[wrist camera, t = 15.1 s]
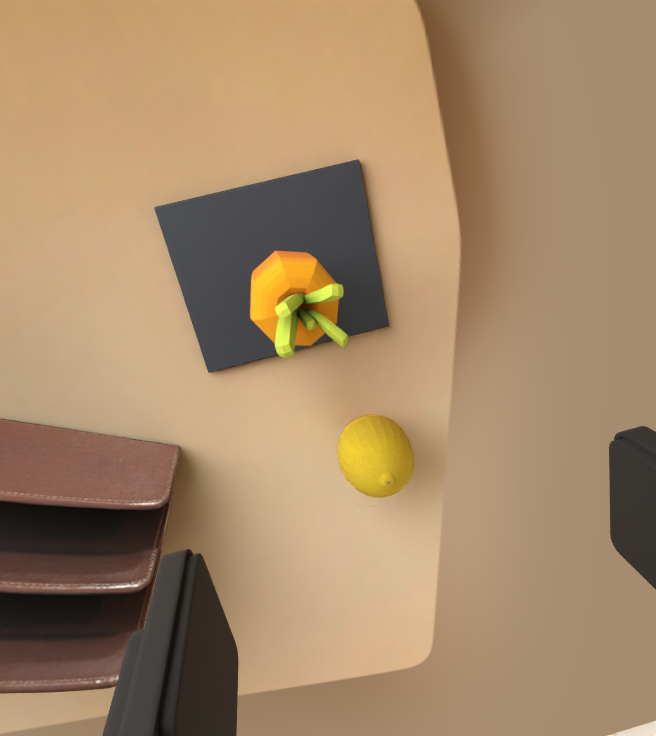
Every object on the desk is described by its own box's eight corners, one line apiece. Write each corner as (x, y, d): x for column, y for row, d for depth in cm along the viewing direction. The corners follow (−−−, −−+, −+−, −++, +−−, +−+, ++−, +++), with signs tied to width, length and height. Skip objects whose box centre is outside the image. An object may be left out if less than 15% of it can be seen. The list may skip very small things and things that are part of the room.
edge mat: (357, 159, 34) (359, 159, 34) (387, 324, 39) (389, 326, 38) (155, 207, 34) (154, 207, 33) (209, 370, 38) (208, 372, 37)
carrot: (303, 226, 35) (343, 252, 21) (325, 293, 37) (375, 358, 23) (235, 249, 35) (229, 292, 21) (261, 315, 37) (271, 395, 23)
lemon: (394, 395, 41) (427, 441, 34) (396, 454, 43) (428, 511, 35) (327, 404, 40) (346, 453, 33) (332, 464, 42) (351, 523, 35)
